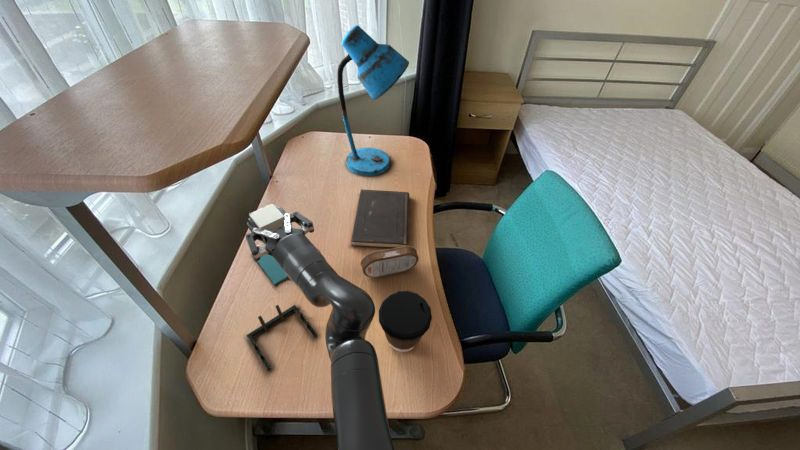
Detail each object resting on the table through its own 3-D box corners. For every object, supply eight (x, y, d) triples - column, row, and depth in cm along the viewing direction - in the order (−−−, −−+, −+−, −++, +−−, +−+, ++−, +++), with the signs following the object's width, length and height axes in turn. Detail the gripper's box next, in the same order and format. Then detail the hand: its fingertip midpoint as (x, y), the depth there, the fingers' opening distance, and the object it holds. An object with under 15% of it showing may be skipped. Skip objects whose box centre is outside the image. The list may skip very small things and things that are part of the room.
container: (270, 255, 73) (259, 227, 67) (259, 241, 76) (248, 213, 70) (292, 244, 76) (284, 216, 70) (281, 231, 79) (272, 203, 73)
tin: (414, 262, 89) (417, 241, 83) (418, 271, 87) (421, 250, 81) (360, 273, 86) (359, 252, 80) (363, 282, 84) (362, 262, 78)
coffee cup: (417, 312, 78) (422, 283, 70) (433, 356, 71) (440, 329, 62) (373, 322, 76) (372, 294, 67) (384, 369, 68) (385, 343, 60)
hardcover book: (351, 246, 92) (350, 241, 90) (361, 194, 108) (360, 189, 107) (407, 249, 92) (408, 244, 91) (408, 197, 108) (409, 191, 107)
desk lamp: (400, 179, 115) (409, 38, 84) (339, 173, 116) (325, 32, 84) (404, 154, 127) (412, 22, 95) (348, 149, 127) (338, 16, 96)
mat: (274, 285, 82) (274, 284, 81) (252, 255, 88) (251, 253, 88) (316, 261, 88) (316, 260, 87) (292, 234, 94) (291, 233, 94)
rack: (267, 371, 67) (260, 359, 63) (247, 337, 72) (239, 324, 68) (317, 336, 73) (313, 323, 69) (295, 306, 78) (290, 292, 74)
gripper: (272, 291, 63) (237, 241, 72) (334, 255, 70) (296, 213, 79) (261, 268, 58) (225, 217, 66) (330, 231, 65) (289, 189, 73)
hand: (263, 215), depth 73 cm, fingers closed on container, 5 cm apart
